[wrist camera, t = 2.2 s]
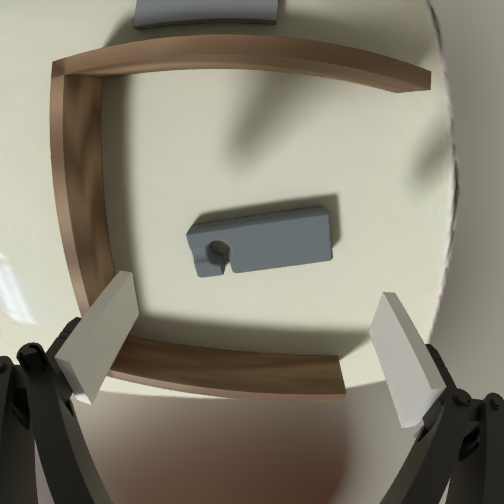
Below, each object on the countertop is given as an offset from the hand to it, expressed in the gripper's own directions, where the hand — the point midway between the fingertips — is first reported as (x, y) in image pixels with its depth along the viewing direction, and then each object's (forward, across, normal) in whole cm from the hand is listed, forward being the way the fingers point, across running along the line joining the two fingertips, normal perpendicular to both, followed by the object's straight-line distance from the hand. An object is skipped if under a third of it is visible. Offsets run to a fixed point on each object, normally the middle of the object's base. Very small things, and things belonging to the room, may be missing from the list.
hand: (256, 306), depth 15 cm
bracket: (+9, 0, 0) cm, 9 cm away
